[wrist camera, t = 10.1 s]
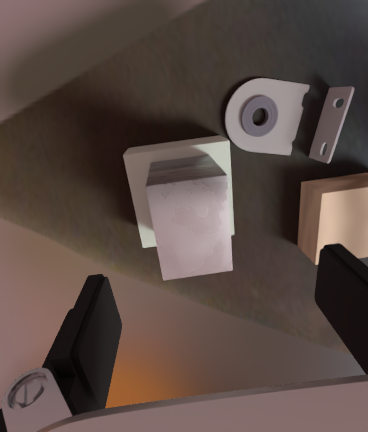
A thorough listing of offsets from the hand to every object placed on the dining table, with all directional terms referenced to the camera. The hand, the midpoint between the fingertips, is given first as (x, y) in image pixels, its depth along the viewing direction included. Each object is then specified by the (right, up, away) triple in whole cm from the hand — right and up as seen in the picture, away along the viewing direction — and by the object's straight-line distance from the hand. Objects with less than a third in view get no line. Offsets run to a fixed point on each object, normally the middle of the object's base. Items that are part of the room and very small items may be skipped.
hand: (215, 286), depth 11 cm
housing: (-1, +5, +12) cm, 13 cm away
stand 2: (+16, +4, +18) cm, 24 cm away
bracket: (+8, +12, +15) cm, 21 cm away
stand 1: (-2, +6, +16) cm, 17 cm away
